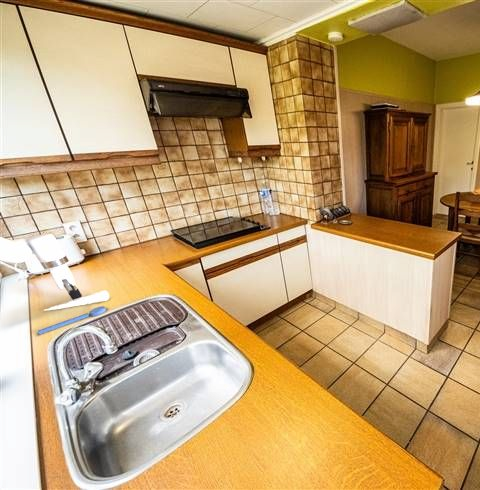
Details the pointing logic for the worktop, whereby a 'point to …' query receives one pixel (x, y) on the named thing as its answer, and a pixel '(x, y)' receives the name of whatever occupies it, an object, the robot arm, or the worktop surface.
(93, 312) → the blue spoon
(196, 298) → the worktop surface
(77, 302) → the unicorn horn
